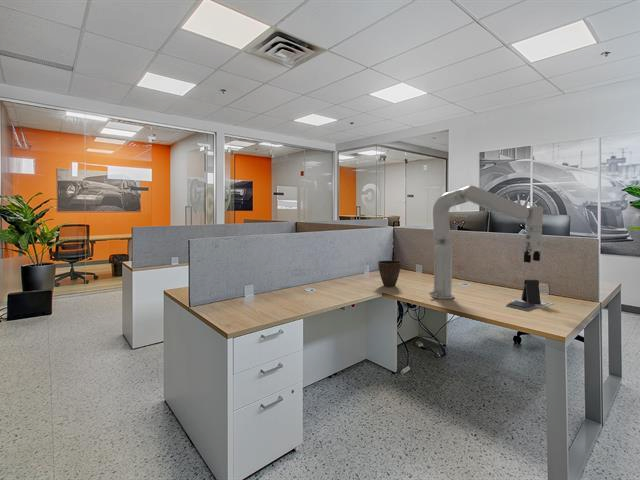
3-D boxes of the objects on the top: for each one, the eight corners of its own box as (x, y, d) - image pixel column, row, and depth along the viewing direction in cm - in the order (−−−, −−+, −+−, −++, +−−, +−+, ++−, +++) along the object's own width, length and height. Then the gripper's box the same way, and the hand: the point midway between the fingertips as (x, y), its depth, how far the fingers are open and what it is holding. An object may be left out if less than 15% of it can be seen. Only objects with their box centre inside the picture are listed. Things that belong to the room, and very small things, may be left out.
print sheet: (540, 308, 168) (540, 307, 168) (510, 301, 181) (510, 300, 181) (552, 303, 175) (552, 303, 175) (522, 297, 188) (522, 297, 188)
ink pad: (526, 311, 163) (527, 307, 163) (506, 306, 172) (506, 303, 172) (536, 307, 169) (536, 304, 169) (516, 303, 177) (516, 300, 177)
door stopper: (540, 304, 173) (541, 281, 172) (528, 304, 174) (529, 281, 173) (533, 300, 182) (534, 278, 181) (521, 299, 183) (522, 278, 182)
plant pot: (374, 286, 219) (374, 262, 218) (383, 282, 231) (383, 259, 230) (395, 289, 211) (395, 264, 209) (404, 285, 223) (404, 261, 222)
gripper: (533, 230, 167) (531, 263, 169) (549, 229, 176) (547, 261, 178) (517, 229, 173) (515, 262, 175) (533, 228, 183) (532, 259, 184)
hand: (531, 261), depth 176 cm, fingers open, 9 cm apart
